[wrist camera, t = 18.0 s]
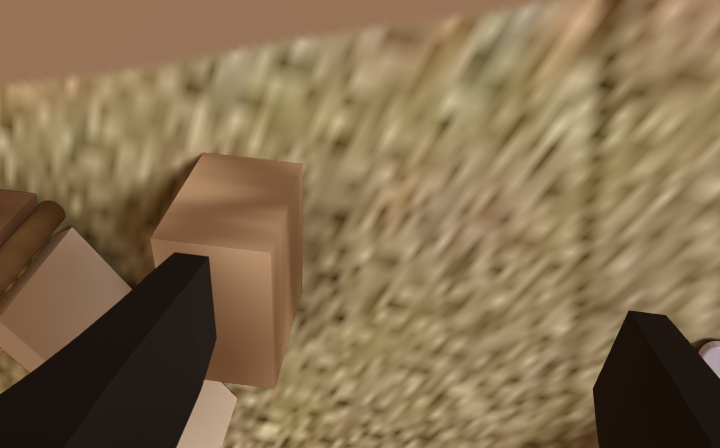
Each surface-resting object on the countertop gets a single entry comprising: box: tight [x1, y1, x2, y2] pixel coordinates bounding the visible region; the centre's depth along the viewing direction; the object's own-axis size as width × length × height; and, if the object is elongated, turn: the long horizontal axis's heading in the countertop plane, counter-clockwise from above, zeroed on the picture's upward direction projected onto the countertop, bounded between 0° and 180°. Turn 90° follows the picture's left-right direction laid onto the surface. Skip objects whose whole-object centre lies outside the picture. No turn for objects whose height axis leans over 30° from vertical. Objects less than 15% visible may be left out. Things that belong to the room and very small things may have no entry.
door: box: [0, 227, 237, 448], centre depth 25 cm, size 11×2×5 cm, turn 29°
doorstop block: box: [150, 153, 303, 389], centre depth 22 cm, size 4×6×5 cm, turn 177°
